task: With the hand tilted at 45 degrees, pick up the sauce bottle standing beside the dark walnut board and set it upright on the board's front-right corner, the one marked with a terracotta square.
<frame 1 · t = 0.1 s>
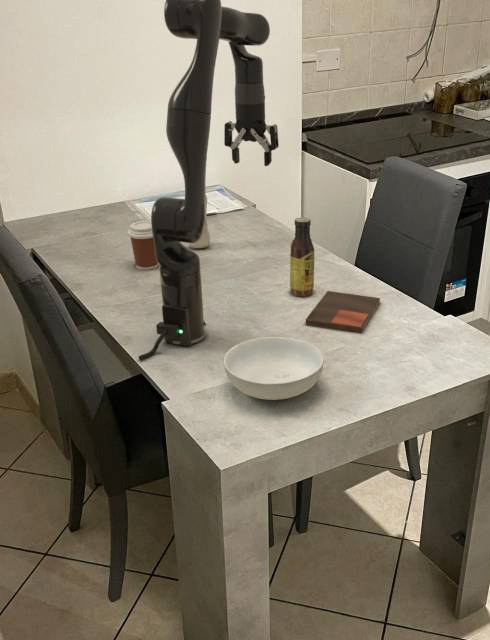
hand: (252, 164, 211), 29 cm above the table, tool pointing down, fingers open, 8 cm apart
coffee cup: (147, 265, 229), on the table
plastic bottle: (199, 247, 241), on the table
walnut board: (343, 313, 200), on the table
sauce bottle: (302, 293, 211), on the table
serving bowl: (274, 387, 170), on the table
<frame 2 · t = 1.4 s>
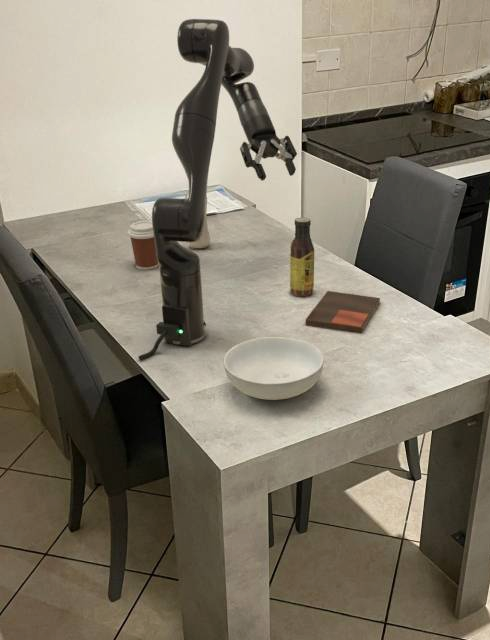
hand: (278, 176, 206), 28 cm above the table, tool tilted 45°, fingers open, 8 cm apart
nothing on the table moved.
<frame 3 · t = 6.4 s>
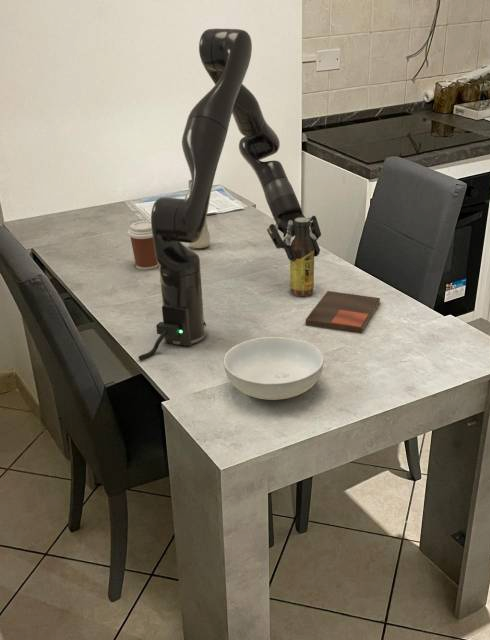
hand: (305, 257, 205), 10 cm above the table, tool tilted 45°, fingers closed on sauce bottle, 6 cm apart
sauce bottle: (302, 293, 211), on the table, touching gripper
everything else where it was.
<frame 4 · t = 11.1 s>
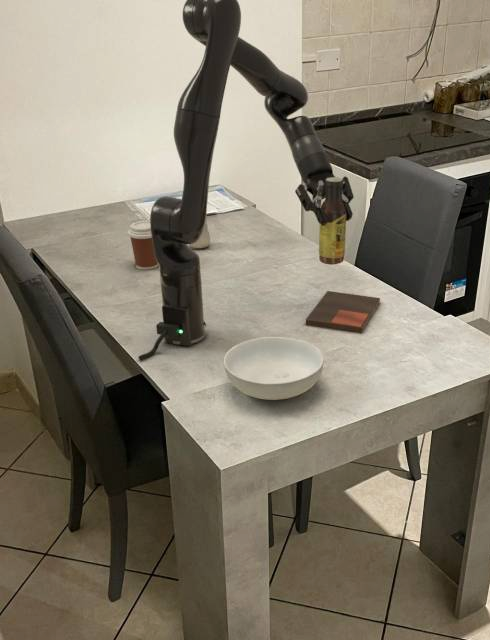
hand: (337, 221, 188), 24 cm above the table, tool tilted 45°, fingers closed on sauce bottle, 6 cm apart
sauce bottle: (331, 261, 194), point 13 cm above the table, touching gripper
everything else where it was.
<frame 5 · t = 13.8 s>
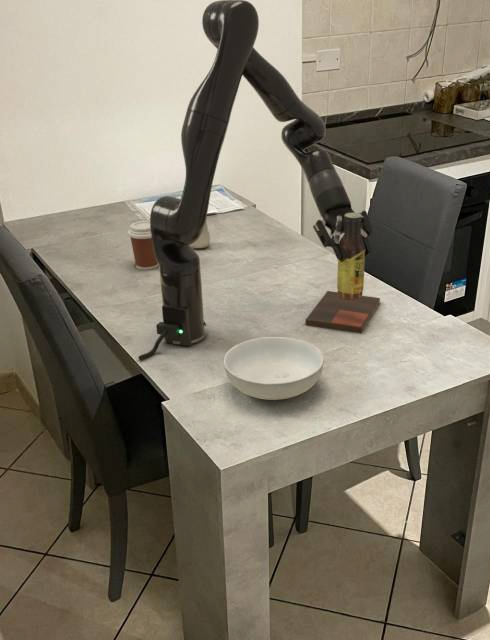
hand: (356, 257, 185), 18 cm above the table, tool tilted 45°, fingers closed on sauce bottle, 6 cm apart
sauce bottle: (350, 296, 191), point 7 cm above the table, touching gripper
everything else where it was.
when the fingers open (12 cm above the table, at t = 16.0 s): sauce bottle stays where it is, resting on walnut board.
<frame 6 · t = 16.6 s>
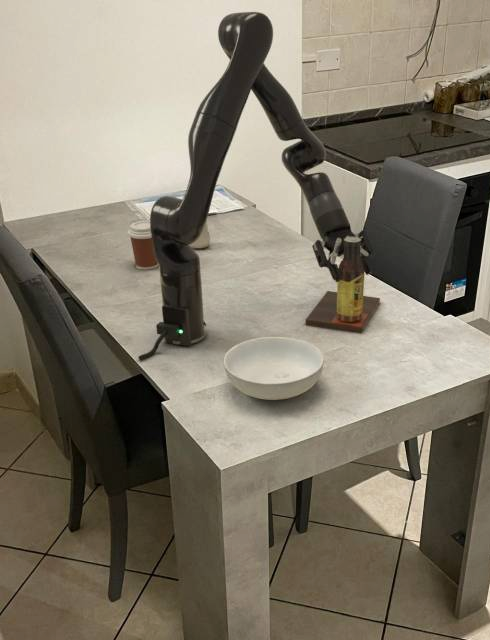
hand: (354, 276, 188), 13 cm above the table, tool tilted 45°, fingers open, 8 cm apart
sauce bottle: (349, 318, 194), point 1 cm above the table, touching walnut board
everything else where it was.
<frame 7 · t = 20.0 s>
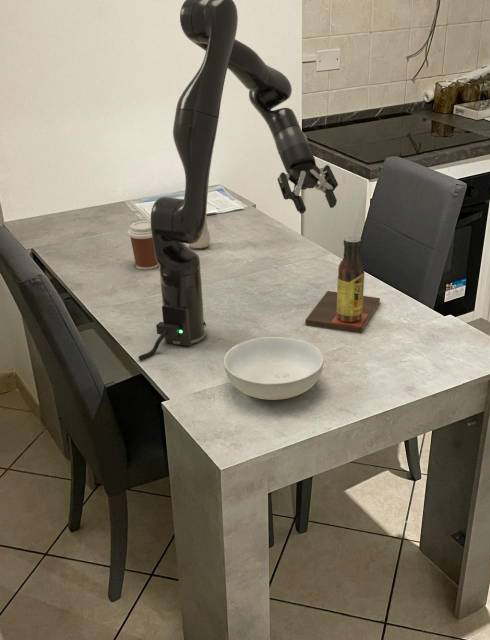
hand: (318, 209, 192), 25 cm above the table, tool tilted 45°, fingers open, 8 cm apart
nothing on the table moved.
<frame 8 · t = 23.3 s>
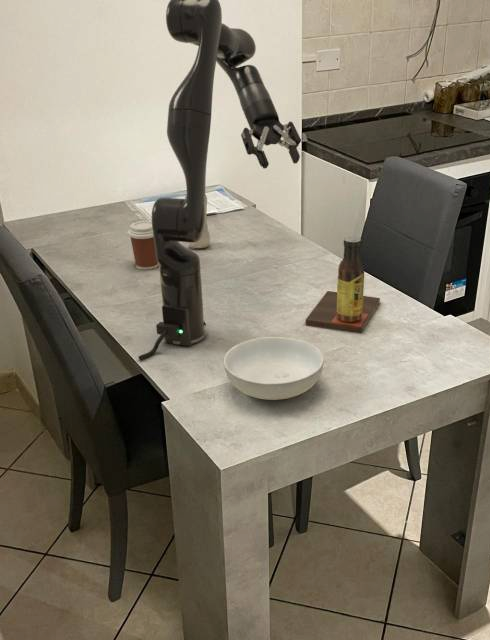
hand: (281, 164, 195), 34 cm above the table, tool tilted 45°, fingers open, 8 cm apart
nothing on the table moved.
at the end: sauce bottle inside the target area on the walnut board (0.2 cm from its centre), point 1.4 cm above the walnut board's base; sauce bottle tilted 0°; the gripper is holding nothing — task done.
